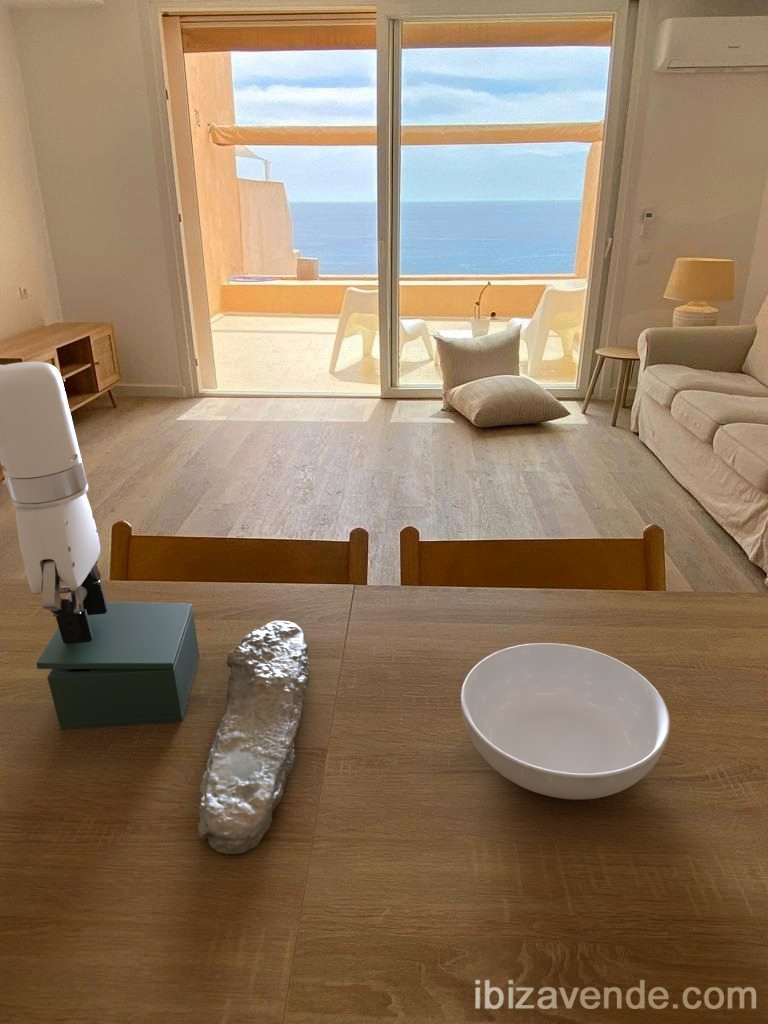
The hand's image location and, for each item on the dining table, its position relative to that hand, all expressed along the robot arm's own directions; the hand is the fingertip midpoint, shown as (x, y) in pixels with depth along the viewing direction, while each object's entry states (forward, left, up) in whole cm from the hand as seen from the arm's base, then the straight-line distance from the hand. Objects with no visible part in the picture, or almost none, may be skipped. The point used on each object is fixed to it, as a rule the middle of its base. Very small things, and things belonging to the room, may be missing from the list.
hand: (86, 625), depth 81 cm
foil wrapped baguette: (+20, -8, -10) cm, 24 cm away
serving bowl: (+52, -15, -10) cm, 55 cm away
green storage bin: (+4, 0, -10) cm, 10 cm away
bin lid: (+4, 0, -2) cm, 4 cm away
